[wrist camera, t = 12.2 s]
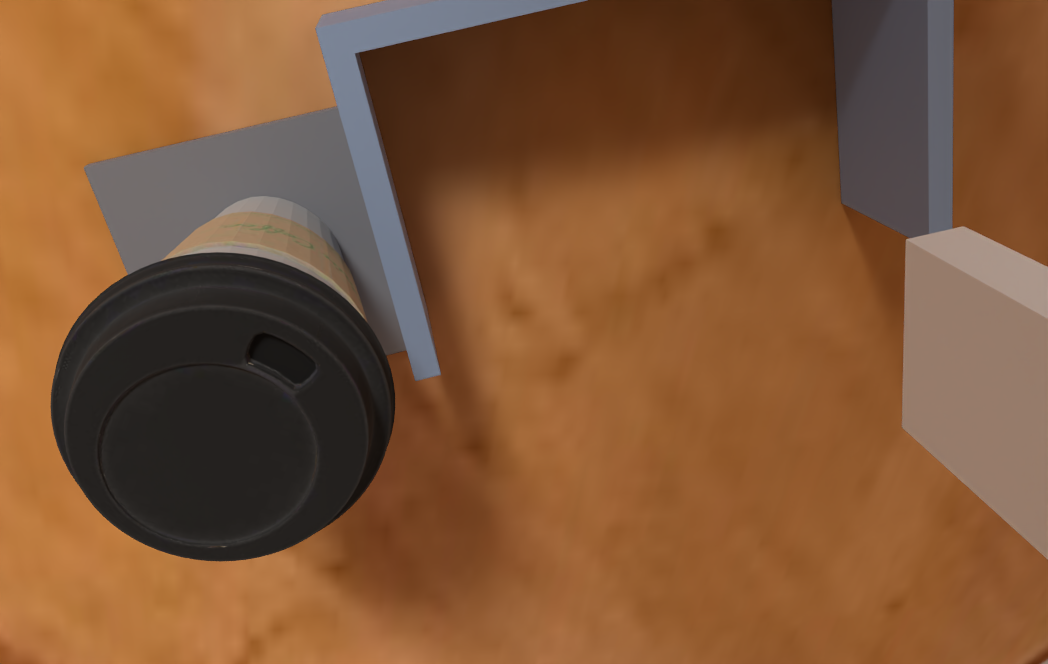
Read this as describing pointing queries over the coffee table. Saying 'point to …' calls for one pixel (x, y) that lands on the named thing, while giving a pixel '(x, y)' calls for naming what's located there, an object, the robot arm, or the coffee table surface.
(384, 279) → the coaster
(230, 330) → the coffee cup
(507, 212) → the coffee table surface
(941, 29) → the grey u-shaped wall
